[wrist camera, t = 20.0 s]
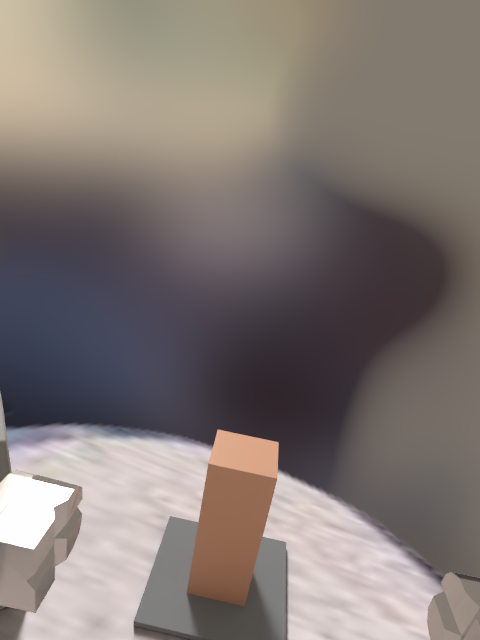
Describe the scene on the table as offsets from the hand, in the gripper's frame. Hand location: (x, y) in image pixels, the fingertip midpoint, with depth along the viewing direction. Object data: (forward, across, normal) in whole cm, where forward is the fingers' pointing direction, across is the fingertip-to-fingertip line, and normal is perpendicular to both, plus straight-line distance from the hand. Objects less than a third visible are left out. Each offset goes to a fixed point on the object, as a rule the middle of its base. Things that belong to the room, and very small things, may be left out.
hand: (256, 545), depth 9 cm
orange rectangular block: (+18, 0, +26) cm, 32 cm away
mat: (+18, 0, +27) cm, 32 cm away
